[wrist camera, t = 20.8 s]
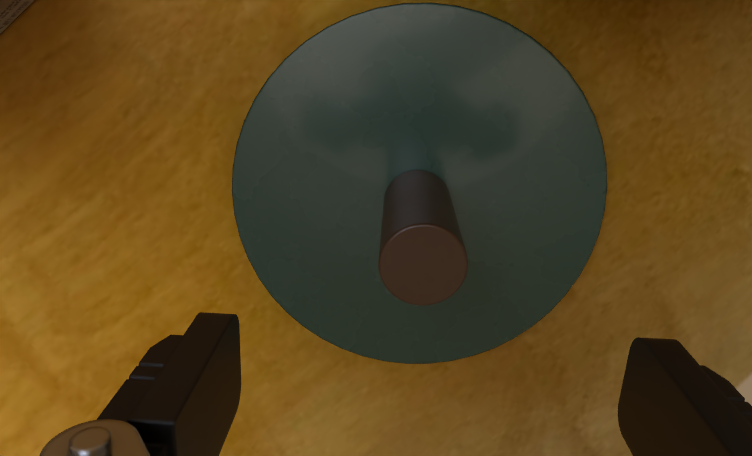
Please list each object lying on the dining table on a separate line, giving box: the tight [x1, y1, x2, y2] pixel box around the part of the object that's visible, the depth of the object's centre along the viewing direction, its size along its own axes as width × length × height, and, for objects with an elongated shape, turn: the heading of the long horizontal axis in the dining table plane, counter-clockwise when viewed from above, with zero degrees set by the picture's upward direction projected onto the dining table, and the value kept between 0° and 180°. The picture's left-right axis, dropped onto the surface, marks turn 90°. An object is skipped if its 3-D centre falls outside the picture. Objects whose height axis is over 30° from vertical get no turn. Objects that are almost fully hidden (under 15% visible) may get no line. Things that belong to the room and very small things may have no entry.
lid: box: [232, 3, 607, 364], centre depth 21 cm, size 15×15×8 cm
